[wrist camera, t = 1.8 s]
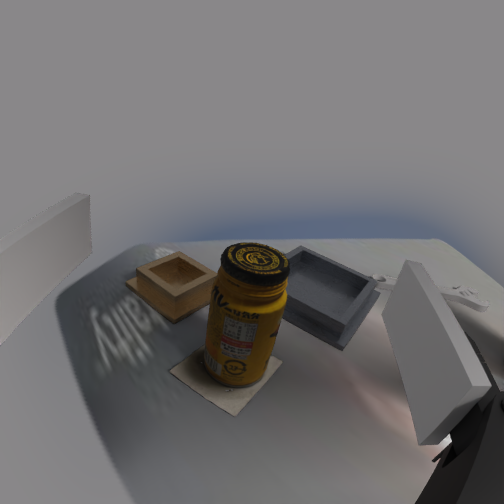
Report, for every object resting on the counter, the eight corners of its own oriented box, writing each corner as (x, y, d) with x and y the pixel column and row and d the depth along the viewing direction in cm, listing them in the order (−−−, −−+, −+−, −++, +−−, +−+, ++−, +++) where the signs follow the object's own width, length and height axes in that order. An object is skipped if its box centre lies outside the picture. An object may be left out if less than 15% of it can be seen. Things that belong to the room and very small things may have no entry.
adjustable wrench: (370, 290, 47) (374, 280, 46) (365, 270, 53) (368, 261, 52) (489, 315, 45) (493, 307, 44) (476, 296, 51) (480, 288, 50)
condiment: (282, 362, 31) (315, 259, 25) (234, 417, 24) (261, 307, 19) (223, 329, 34) (240, 227, 28) (169, 373, 27) (170, 259, 22)
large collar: (379, 296, 45) (385, 281, 44) (342, 350, 33) (350, 333, 32) (294, 255, 52) (298, 241, 50) (236, 291, 40) (239, 274, 39)
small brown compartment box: (227, 292, 40) (230, 275, 39) (174, 324, 33) (174, 304, 32) (178, 262, 44) (179, 246, 43) (125, 285, 37) (124, 267, 36)
